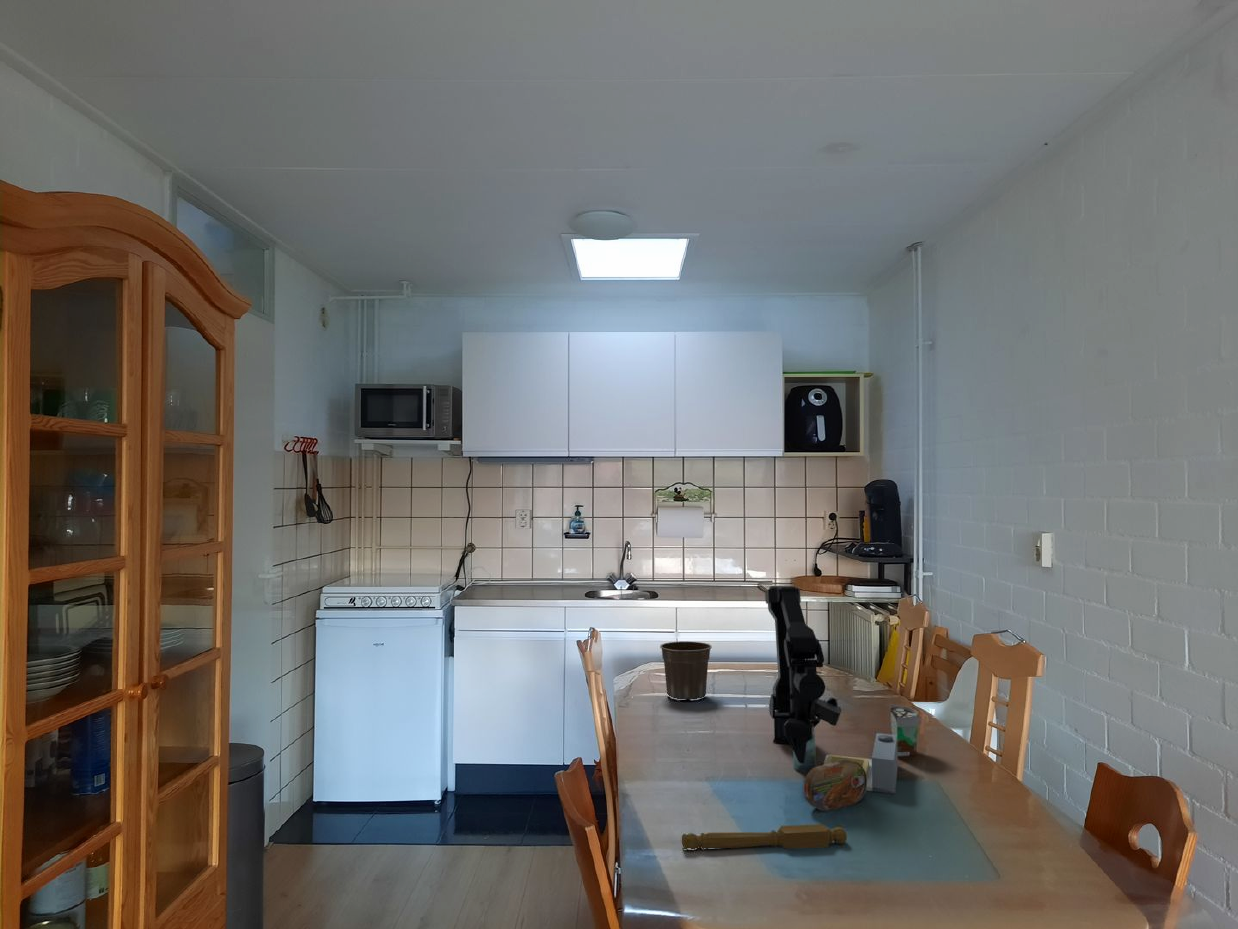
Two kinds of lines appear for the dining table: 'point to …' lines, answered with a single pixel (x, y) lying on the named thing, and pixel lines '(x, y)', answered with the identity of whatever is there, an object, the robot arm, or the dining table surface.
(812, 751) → the spout can
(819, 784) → the tin
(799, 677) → the robot arm
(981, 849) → the dining table surface
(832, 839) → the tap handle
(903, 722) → the food container
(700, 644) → the plant pot
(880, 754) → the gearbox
